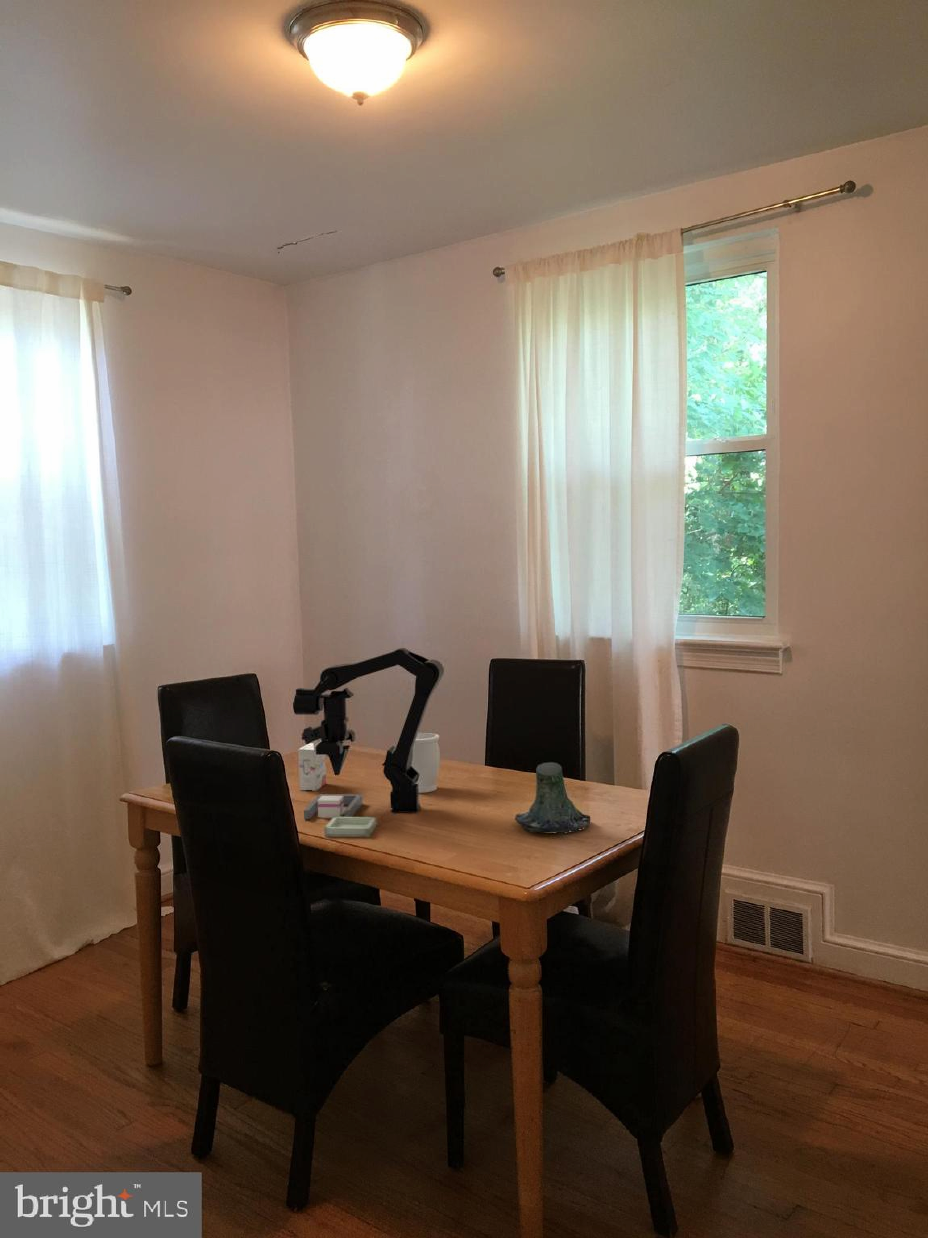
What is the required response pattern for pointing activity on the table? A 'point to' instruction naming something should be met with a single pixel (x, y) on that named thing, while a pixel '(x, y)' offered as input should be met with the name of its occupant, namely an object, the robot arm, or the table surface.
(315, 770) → the ink cartridge box
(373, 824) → the tray
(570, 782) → the table surface
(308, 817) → the bay
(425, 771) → the jar
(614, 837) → the table surface
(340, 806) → the white striped box
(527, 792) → the table surface
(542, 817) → the tree stump
